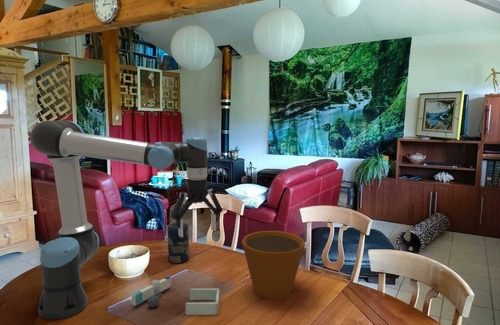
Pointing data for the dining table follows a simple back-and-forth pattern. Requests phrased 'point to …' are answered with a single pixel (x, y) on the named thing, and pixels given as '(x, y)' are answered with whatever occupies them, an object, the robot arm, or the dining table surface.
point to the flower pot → (273, 261)
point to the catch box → (203, 307)
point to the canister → (178, 244)
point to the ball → (153, 301)
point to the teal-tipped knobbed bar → (151, 290)
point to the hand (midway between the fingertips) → (197, 233)
